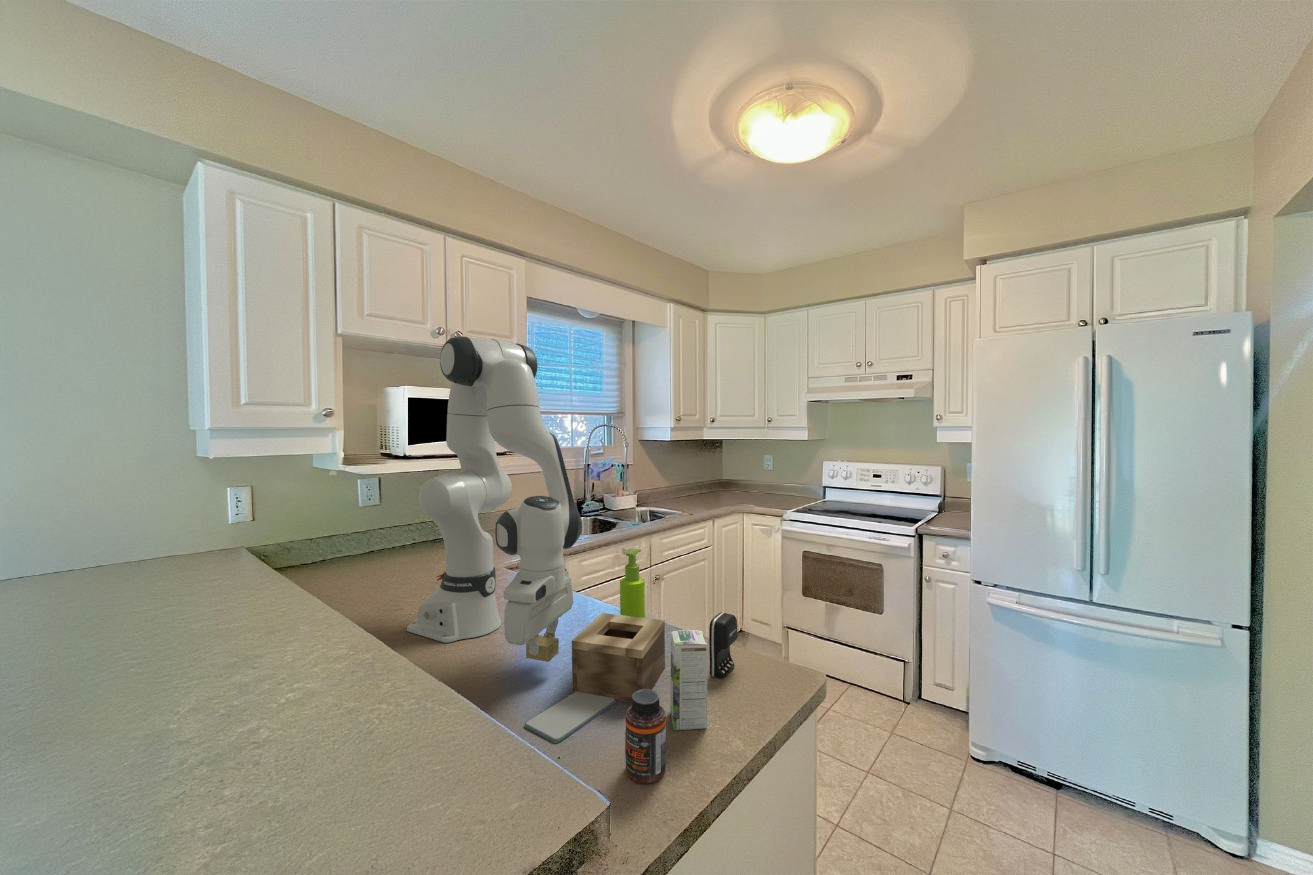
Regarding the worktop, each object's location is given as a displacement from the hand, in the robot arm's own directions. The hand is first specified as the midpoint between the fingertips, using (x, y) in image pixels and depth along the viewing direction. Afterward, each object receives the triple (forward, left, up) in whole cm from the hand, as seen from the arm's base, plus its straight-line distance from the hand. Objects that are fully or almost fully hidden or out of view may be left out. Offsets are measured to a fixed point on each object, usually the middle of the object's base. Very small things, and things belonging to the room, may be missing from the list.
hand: (542, 647), depth 101 cm
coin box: (+16, +3, -6) cm, 17 cm away
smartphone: (+12, -10, -7) cm, 16 cm away
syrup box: (+32, -6, -6) cm, 33 cm away
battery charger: (+35, +12, -6) cm, 37 cm away
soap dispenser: (+11, +24, -6) cm, 27 cm away
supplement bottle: (+29, -20, -6) cm, 35 cm away
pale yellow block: (0, 0, -2) cm, 2 cm away
